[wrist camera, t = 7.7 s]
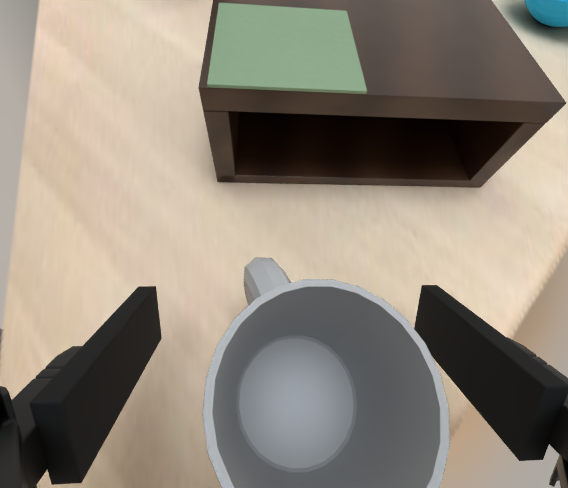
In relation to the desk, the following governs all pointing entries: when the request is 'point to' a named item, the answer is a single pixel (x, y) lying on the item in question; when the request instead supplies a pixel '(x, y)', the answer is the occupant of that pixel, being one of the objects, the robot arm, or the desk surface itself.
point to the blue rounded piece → (549, 11)
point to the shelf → (368, 91)
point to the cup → (323, 391)
